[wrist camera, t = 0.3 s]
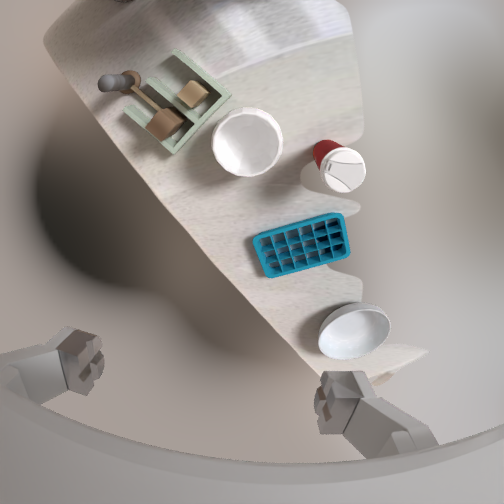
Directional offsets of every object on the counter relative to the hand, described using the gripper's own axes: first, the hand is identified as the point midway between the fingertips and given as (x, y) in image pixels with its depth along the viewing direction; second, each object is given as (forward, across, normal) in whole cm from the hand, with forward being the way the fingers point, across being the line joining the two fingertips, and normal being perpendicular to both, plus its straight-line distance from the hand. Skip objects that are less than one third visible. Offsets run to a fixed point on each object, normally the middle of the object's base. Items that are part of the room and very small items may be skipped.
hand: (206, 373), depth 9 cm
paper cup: (+50, -14, -14) cm, 54 cm away
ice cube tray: (+57, -13, +5) cm, 58 cm away
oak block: (+46, +12, -22) cm, 53 cm away
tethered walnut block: (+47, +22, -21) cm, 55 cm away
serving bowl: (+64, -33, +27) cm, 77 cm away
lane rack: (+47, +16, -21) cm, 54 cm away
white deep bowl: (+49, +2, -15) cm, 52 cm away
